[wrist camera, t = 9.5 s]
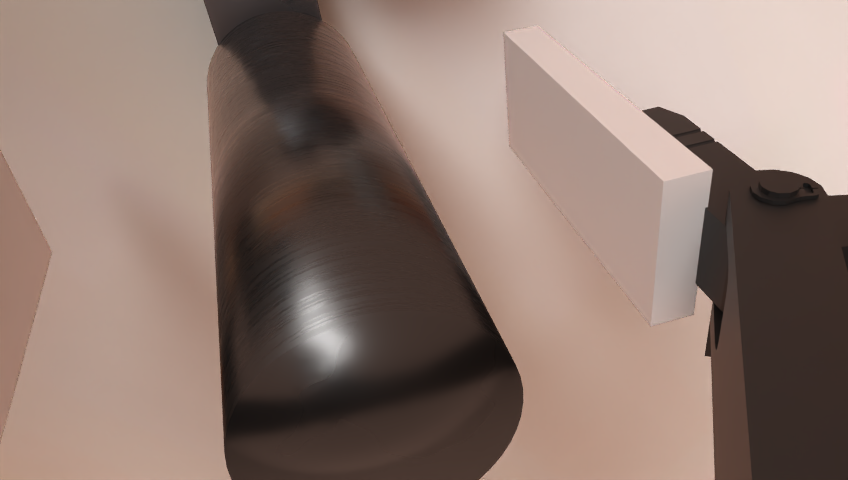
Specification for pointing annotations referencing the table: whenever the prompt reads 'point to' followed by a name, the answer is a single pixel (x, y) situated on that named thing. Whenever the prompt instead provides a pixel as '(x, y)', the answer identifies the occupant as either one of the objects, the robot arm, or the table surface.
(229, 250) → the lever
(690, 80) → the table surface
